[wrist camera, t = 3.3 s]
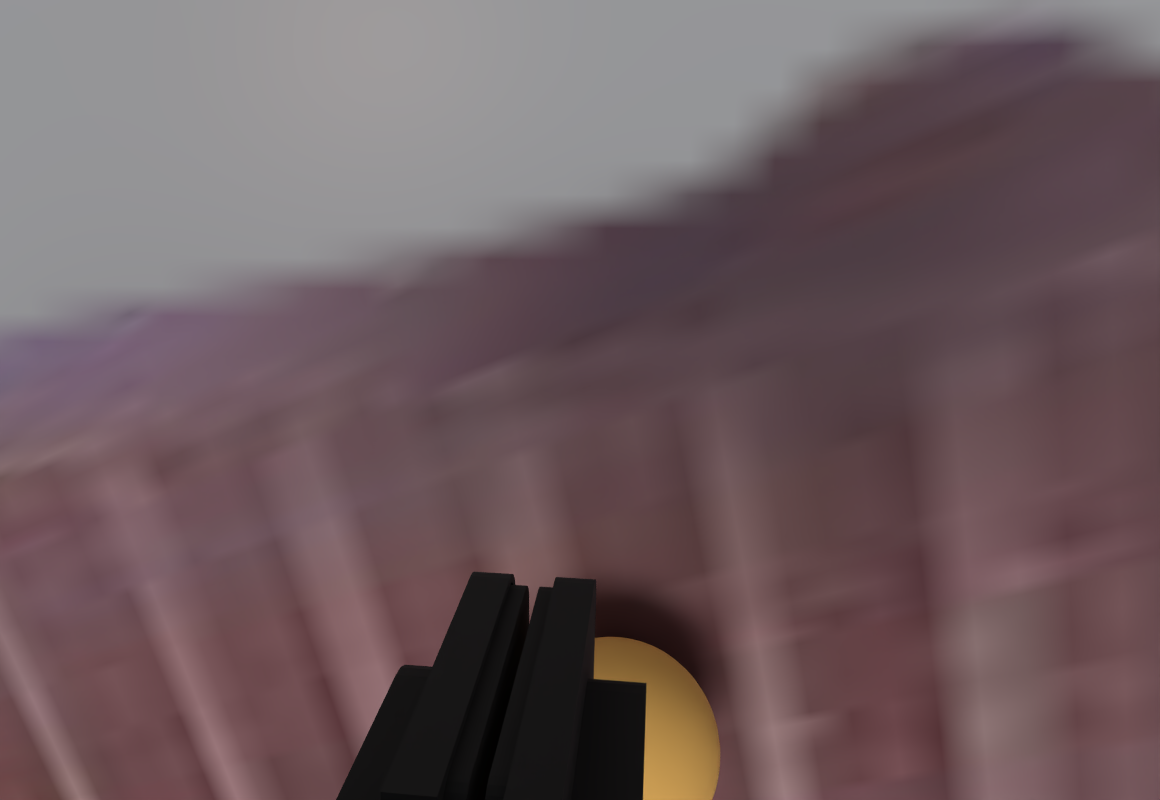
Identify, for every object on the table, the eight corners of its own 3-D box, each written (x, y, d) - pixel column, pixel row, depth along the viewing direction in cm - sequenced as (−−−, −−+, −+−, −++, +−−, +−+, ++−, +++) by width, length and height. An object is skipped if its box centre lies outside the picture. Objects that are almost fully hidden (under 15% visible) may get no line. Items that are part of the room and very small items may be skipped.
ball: (723, 604, 25) (734, 745, 20) (709, 767, 27) (716, 938, 21) (524, 589, 26) (480, 721, 20) (525, 749, 28) (484, 911, 22)
